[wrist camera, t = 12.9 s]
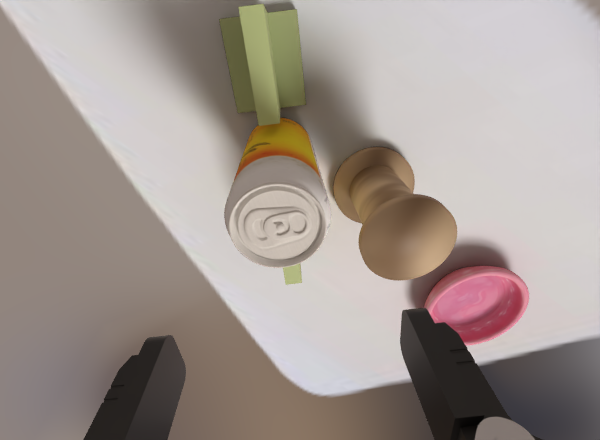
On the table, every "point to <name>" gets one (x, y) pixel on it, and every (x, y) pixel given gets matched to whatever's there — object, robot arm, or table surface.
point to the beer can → (278, 198)
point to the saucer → (478, 302)
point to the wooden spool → (393, 215)
